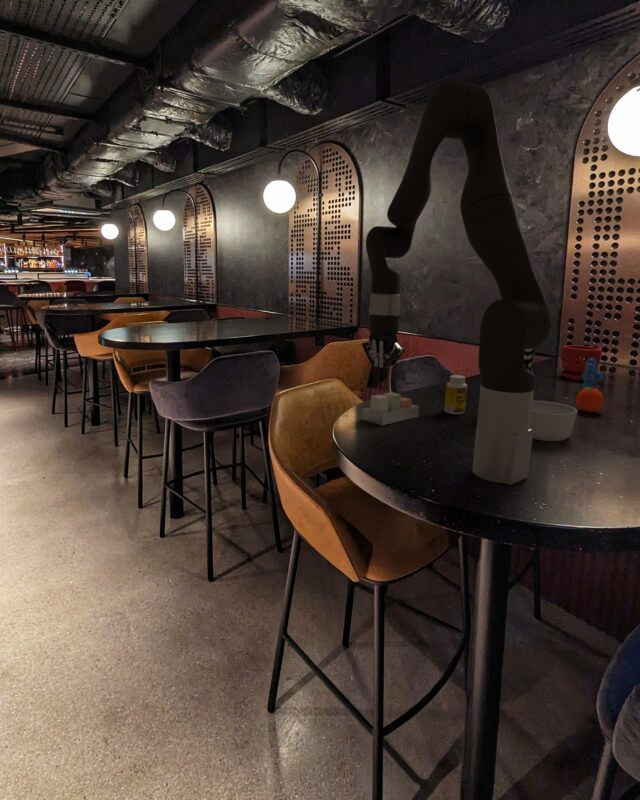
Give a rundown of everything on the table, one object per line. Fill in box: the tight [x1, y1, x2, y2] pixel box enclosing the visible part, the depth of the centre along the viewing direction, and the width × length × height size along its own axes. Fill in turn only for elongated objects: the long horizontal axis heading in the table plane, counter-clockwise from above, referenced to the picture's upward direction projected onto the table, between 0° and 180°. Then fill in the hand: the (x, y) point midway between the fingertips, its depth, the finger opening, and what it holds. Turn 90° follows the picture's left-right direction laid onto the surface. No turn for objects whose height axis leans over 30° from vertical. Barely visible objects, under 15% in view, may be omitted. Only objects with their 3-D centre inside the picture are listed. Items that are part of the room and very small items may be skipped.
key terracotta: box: [400, 396, 413, 407], centre depth 135 cm, size 3×3×4 cm
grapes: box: [581, 357, 605, 390], centre depth 164 cm, size 12×7×12 cm, turn 151°
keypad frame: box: [361, 403, 420, 427], centre depth 133 cm, size 7×14×3 cm, turn 130°
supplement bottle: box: [443, 374, 468, 415], centre depth 139 cm, size 6×6×10 cm
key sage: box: [382, 391, 402, 410], centre depth 132 cm, size 3×3×4 cm
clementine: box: [575, 387, 605, 413], centre depth 143 cm, size 8×7×7 cm
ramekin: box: [529, 400, 578, 442], centre depth 121 cm, size 13×13×7 cm
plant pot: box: [560, 344, 603, 381], centre depth 189 cm, size 13×13×12 cm
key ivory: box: [369, 394, 389, 413], centre depth 129 cm, size 3×3×4 cm
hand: (381, 381), depth 128 cm, fingers closed
